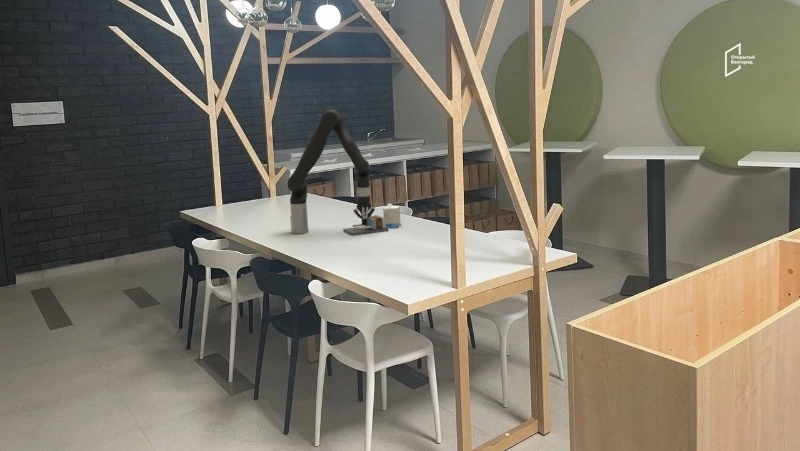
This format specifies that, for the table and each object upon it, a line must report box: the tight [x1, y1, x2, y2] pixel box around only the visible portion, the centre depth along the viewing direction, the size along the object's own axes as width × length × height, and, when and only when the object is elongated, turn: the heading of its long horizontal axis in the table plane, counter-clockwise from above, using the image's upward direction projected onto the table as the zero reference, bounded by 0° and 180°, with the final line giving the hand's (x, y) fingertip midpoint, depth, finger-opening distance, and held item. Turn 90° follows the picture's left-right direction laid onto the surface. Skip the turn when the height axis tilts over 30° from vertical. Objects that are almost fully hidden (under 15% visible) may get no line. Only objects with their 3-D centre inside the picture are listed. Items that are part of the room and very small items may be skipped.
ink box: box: [382, 203, 402, 229], centre depth 397 cm, size 9×8×13 cm
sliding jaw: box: [352, 217, 376, 230], centre depth 388 cm, size 10×12×6 cm
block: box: [370, 215, 381, 228], centre depth 390 cm, size 4×7×6 cm, turn 24°
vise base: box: [343, 214, 389, 237], centre depth 388 cm, size 22×14×7 cm, turn 114°
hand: (364, 225), depth 388 cm, fingers closed
